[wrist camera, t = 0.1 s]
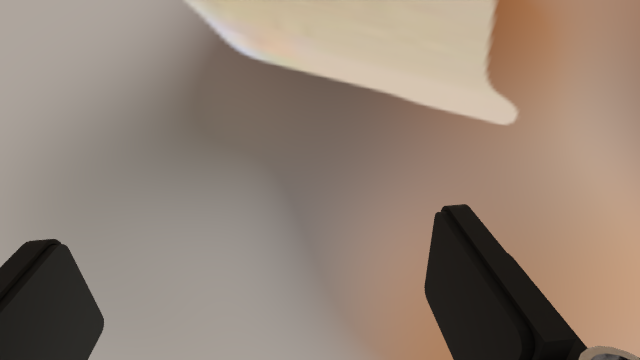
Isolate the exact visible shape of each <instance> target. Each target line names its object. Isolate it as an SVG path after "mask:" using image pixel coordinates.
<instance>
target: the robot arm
mask: <svg viewBox="0 0 640 360" xmlns="http://www.w3.org/2000/svg"><path fill="white" fill-rule="evenodd" d="M425 295H426V298H427V301H428V303H429V305H430V308H431V310H432V312H433V314H434V317H435V319H436V321H437V323H438V325H439V328H440V330H441V332H442V334H443V337H444V339H445V341H446V343H447V346H448V348H449V350H450V352H451V354H452V357H453V359H454V360H640V358H639V357H637V356H635V355H633V354H630V353H628V352H626V351H623V350H620V349H616V348H613V347H605V346H596V347H591V348H587V347H586V346H585V345H584V343H583V342H582V341H581V340H580V338H579V337H578V336H577V335H576V334H575V332H574V331H573V330H572V329H571V328H570V326H569V325H568V324H567V323H566V321H565V320H564V319H563V318H562V317H561V315H560V314H559V313H558V312H557V311H556V310H555V308H554V307H553V306H552V304H551V303H550V302H549V301H548V300H547V298H546V297H545V296H544V295H543V294H542V292H541V291H540V290H539V289H538V288H537V286H536V285H535V284H534V283H533V281H531V279H530V278H529V277H528V275H527V274H526V273H525V272H524V270H523V269H522V268H521V267H520V266H519V265H518V263H517V262H516V261H515V260H514V258H513V257H512V256H510V255H509V254H508V253H507V252H506V251H505V250H504V249H503V248H502V246H501V245H500V244H499V243H498V241H497V240H496V239H495V238H494V237H493V235H492V234H491V233H490V232H489V230H488V229H487V228H486V227H485V226H484V224H483V223H482V222H481V221H480V219H479V218H478V217H477V216H476V215H475V213H474V212H473V211H472V210H471V208H470V207H469V206H468V205H465V204H462V205H452V206H444V207H443V208H442V210H441V212H437V213H436V214H435V219H434V225H433V232H432V239H431V246H430V252H429V260H428V266H427V273H426V280H425ZM103 327H104V319H103V316H102V314H101V312H100V310H99V308H98V306H97V304H96V302H95V300H94V298H93V296H92V294H91V292H90V290H89V288H88V286H87V284H86V282H85V280H84V278H83V276H82V274H81V272H80V270H79V268H78V266H77V264H76V262H75V260H74V258H73V256H72V254H71V252H70V250H69V249H68V247H67V246H66V245H64V244H61V243H60V242H59V241H58V240H56V239H48V240H36V241H29V242H26V243H25V244H23V245H22V246H21V247H20V248H19V249H18V250H17V251H16V252H15V253H14V254H13V255H12V256H11V257H10V258H9V259H8V260H7V261H6V262H5V263H4V264H3V265H2V267H0V360H88V358H89V356H90V354H91V352H92V350H93V348H94V346H95V344H96V343H97V341H98V338H99V337H100V335H101V333H102V330H103Z"/></svg>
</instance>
